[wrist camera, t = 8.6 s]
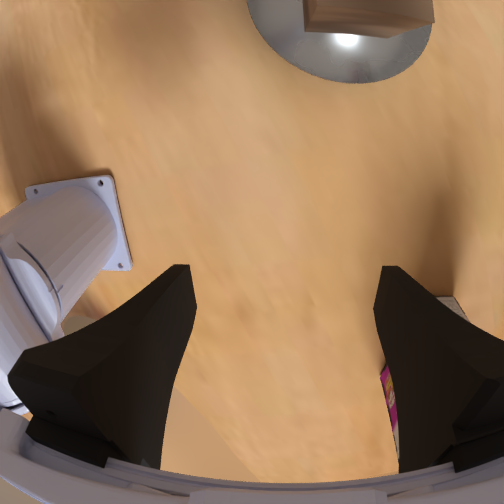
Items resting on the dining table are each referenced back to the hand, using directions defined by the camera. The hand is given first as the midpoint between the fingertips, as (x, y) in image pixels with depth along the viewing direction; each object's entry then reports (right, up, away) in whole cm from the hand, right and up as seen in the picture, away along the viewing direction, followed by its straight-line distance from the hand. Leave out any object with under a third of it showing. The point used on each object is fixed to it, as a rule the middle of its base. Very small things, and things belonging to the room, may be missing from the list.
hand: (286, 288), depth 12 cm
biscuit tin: (+4, +16, +3) cm, 17 cm away
